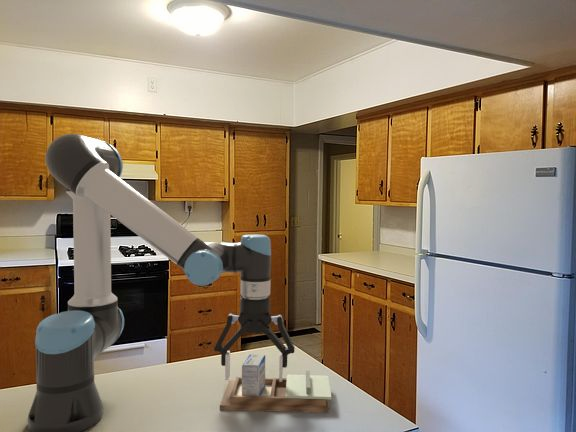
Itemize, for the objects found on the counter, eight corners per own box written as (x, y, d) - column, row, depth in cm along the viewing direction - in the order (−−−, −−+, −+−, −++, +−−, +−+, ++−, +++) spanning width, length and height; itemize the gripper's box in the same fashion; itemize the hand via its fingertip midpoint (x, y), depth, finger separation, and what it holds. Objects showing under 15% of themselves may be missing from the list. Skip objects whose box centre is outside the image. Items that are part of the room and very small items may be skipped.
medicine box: (258, 400, 109) (259, 365, 108) (241, 399, 109) (241, 364, 109) (265, 386, 117) (265, 354, 116) (248, 385, 117) (249, 353, 117)
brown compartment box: (219, 409, 106) (219, 398, 106) (229, 384, 120) (229, 374, 120) (328, 412, 106) (328, 402, 105) (325, 387, 120) (325, 377, 119)
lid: (285, 397, 107) (285, 389, 106) (287, 376, 119) (287, 368, 119) (331, 399, 106) (331, 390, 106) (328, 377, 119) (328, 369, 118)
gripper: (202, 298, 108) (202, 383, 109) (305, 301, 108) (303, 386, 109) (209, 291, 116) (208, 371, 117) (304, 293, 115) (303, 374, 116)
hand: (254, 378), depth 113 cm, fingers open, 13 cm apart
